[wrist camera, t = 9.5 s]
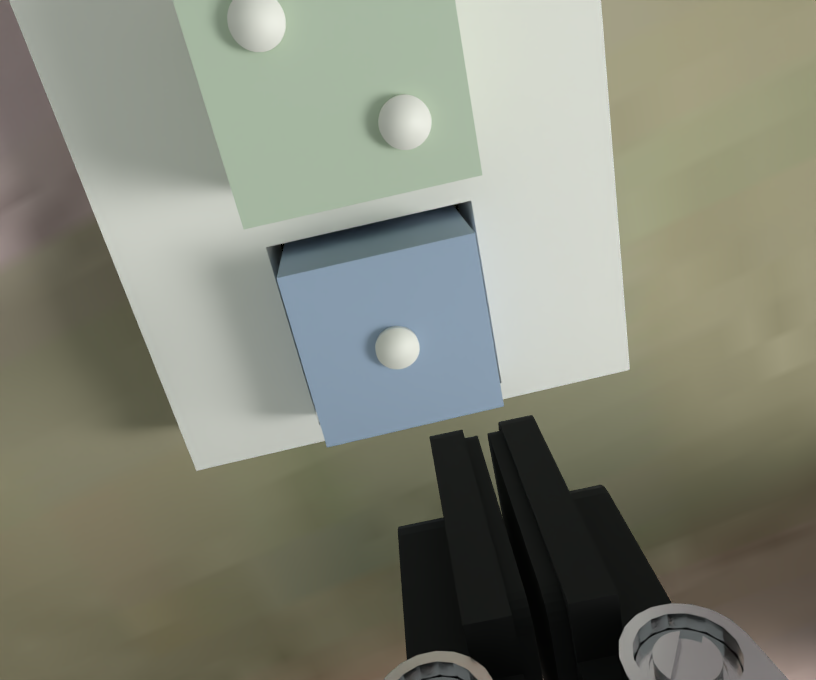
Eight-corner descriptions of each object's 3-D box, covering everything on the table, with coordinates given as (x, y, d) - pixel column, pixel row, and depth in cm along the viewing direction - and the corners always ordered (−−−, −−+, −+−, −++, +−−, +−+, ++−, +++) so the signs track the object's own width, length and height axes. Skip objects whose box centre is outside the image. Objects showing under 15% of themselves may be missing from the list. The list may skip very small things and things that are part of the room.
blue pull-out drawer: (472, 341, 20) (505, 409, 16) (327, 375, 20) (327, 451, 16) (446, 196, 18) (476, 235, 15) (287, 232, 18) (276, 281, 14)
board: (596, 334, 21) (629, 369, 18) (211, 423, 21) (196, 470, 18) (516, -480, 13) (555, -589, 11) (-81, -354, 13) (-167, -438, 11)
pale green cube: (447, 146, 16) (484, 177, 12) (263, 188, 16) (242, 232, 12) (409, -67, 14) (440, -111, 10) (202, -21, 14) (155, -48, 10)
